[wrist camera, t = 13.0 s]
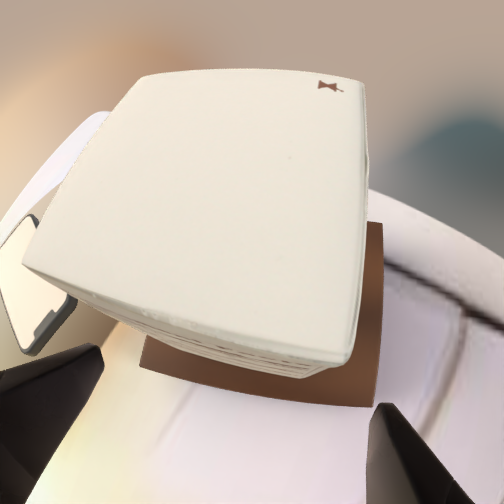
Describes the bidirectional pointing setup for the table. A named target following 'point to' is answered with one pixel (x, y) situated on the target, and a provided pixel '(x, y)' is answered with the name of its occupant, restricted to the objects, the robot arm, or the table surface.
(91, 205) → the white packaging box
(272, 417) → the table surface
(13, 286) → the white smartphone
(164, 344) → the block
